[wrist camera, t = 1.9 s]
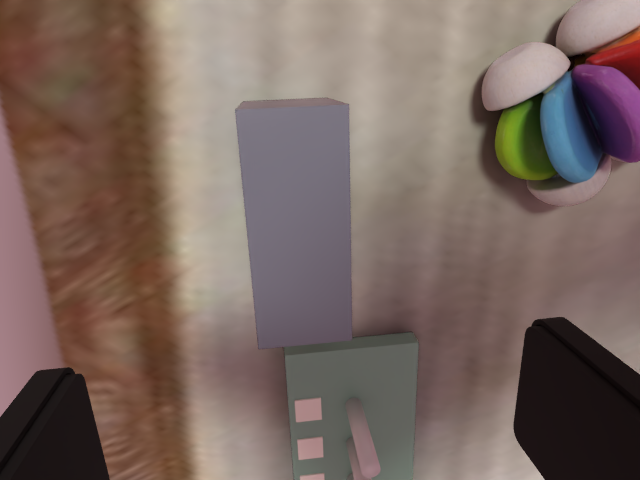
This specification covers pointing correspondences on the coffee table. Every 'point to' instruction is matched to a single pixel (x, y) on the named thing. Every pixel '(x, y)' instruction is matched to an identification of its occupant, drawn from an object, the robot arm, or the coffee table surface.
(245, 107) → the block
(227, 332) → the coffee table surface
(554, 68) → the rainbow disc toy
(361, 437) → the panel
